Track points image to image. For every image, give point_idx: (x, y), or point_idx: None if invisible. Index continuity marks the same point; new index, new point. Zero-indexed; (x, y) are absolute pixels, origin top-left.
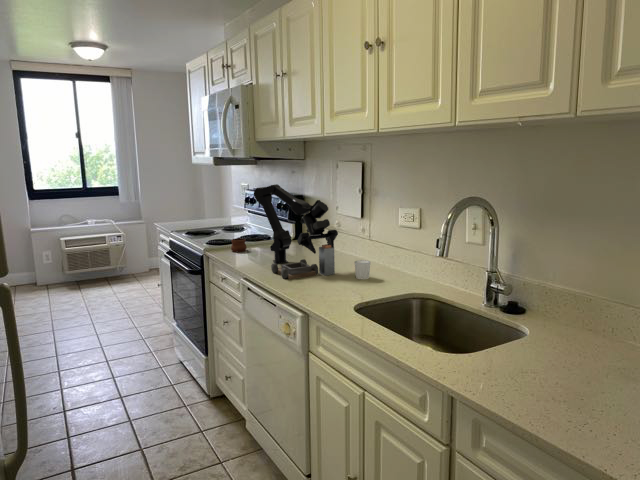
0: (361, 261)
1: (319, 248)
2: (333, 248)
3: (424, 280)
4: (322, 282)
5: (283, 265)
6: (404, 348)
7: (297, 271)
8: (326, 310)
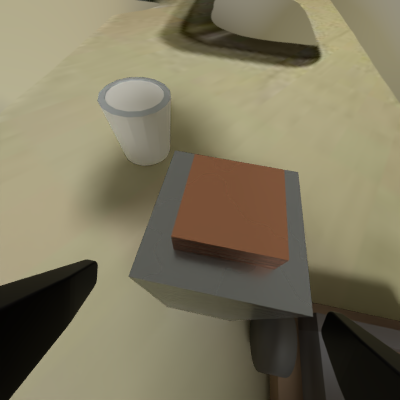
0: (129, 100)
1: (300, 298)
2: (184, 158)
3: (75, 63)
4: None
5: None
6: (322, 11)
7: None
8: (365, 75)
